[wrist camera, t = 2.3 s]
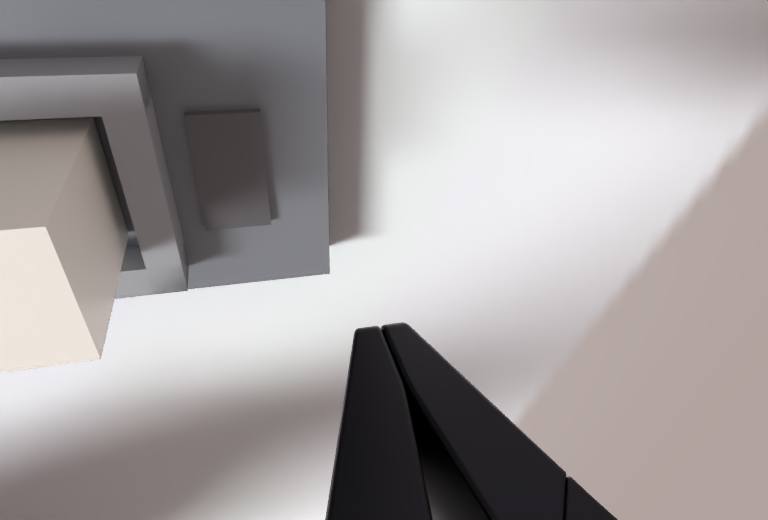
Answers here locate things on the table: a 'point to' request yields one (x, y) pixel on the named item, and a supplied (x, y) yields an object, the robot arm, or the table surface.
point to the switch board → (189, 127)
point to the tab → (56, 243)
